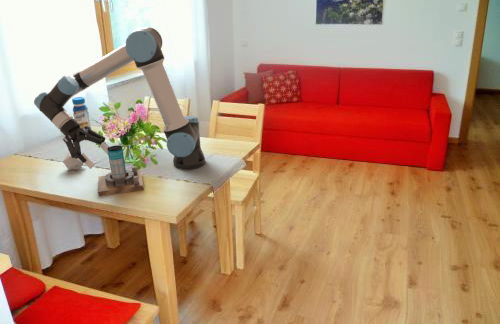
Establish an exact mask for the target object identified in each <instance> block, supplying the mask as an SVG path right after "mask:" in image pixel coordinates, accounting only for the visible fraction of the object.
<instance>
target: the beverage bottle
mask: <svg viewBox="0 0 500 324" xmlns="http://www.w3.org/2000/svg"><path fill="white" fill-rule="evenodd" d="M71 99H72V100H71V102H72V105H73V107H72V112H73V115H72V116H73V119H75V120H76V121H77V122H78V123H79V124H80V128H82V129H84V128H85V126H87V127H88V128H89V129H91V130H92V127H91V122H90V115H89V114H90V113H89V111H88V110H89V109H88V107H87V105H86V104H85V103H86V99H85V97H83V96H77V97H72V98H71Z"/></svg>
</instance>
